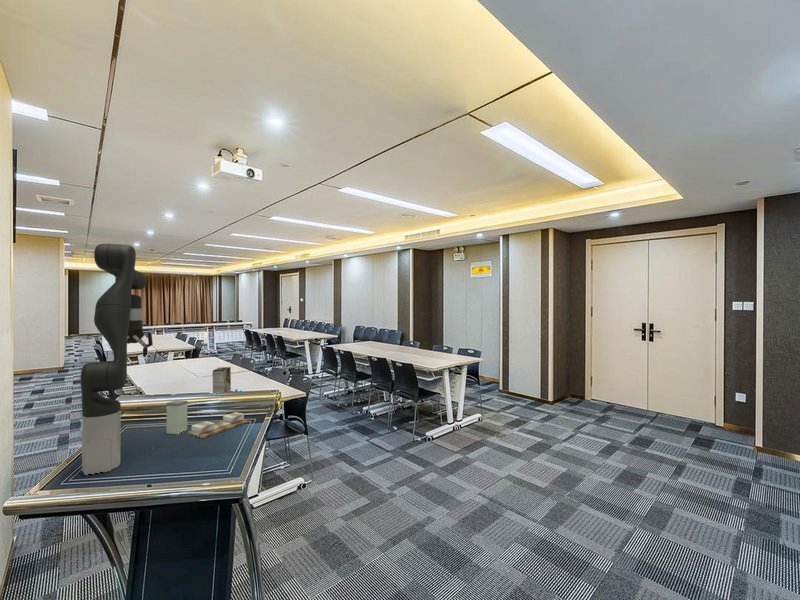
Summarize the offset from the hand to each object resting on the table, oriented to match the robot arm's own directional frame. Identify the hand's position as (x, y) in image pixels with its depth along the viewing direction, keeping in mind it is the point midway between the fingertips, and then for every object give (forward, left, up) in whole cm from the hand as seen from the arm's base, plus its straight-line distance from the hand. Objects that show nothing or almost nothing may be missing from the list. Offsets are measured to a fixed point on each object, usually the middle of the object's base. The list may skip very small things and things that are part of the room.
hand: (132, 357), depth 151 cm
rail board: (-22, -33, -29) cm, 49 cm away
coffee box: (+31, -35, -29) cm, 55 cm away
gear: (+11, -42, -29) cm, 52 cm away
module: (-18, -18, -29) cm, 38 cm away
